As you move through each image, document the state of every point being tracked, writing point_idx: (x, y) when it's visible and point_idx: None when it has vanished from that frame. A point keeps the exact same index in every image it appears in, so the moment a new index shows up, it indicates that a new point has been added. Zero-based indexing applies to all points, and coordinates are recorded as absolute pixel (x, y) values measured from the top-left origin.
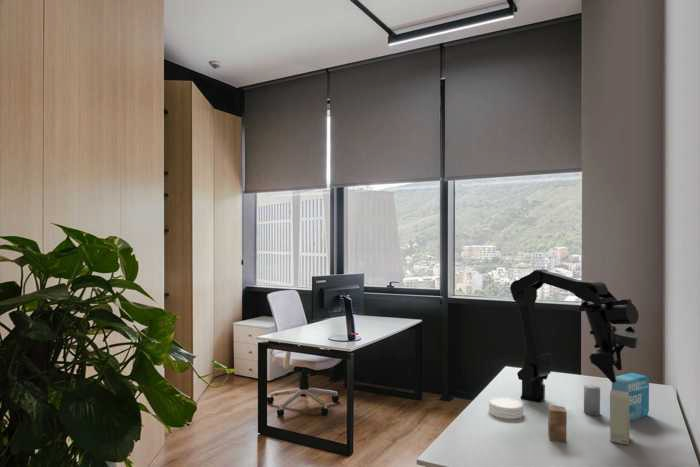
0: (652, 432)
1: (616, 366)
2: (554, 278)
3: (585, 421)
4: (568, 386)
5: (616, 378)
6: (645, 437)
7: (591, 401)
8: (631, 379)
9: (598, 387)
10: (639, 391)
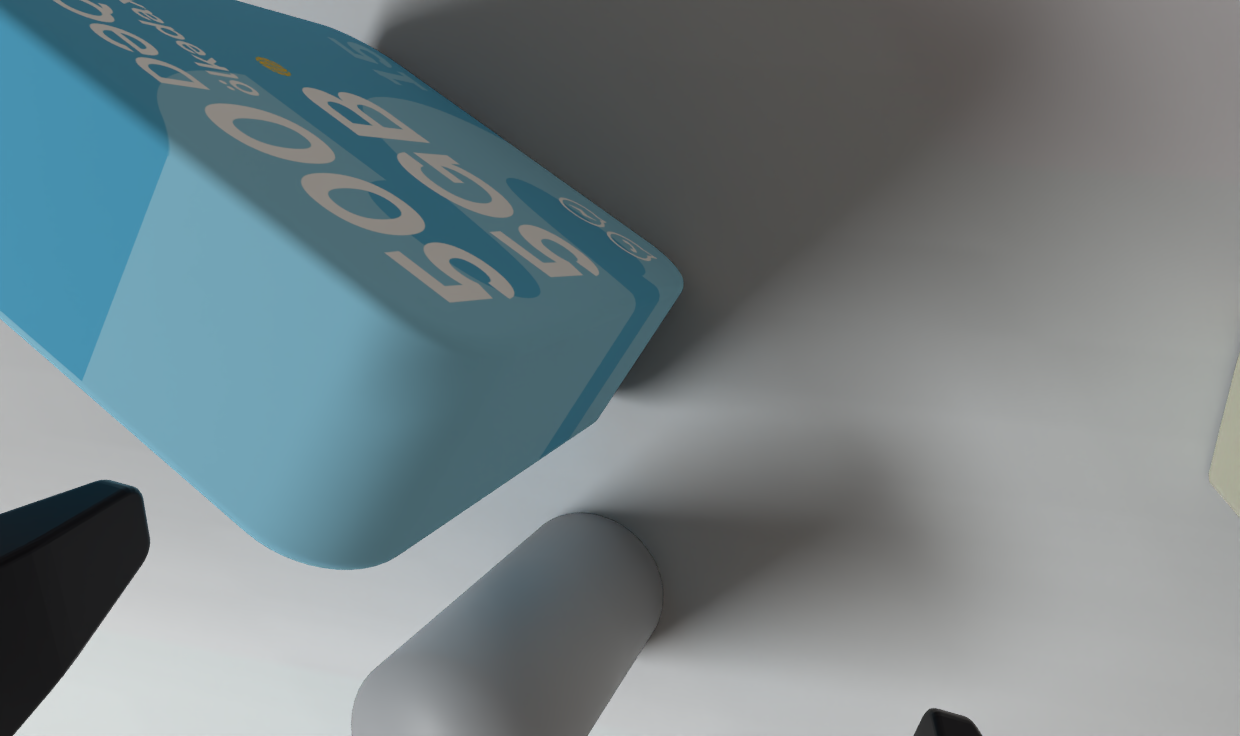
0: (914, 19)
1: (79, 629)
2: None
3: (886, 693)
4: None
5: (323, 519)
6: (1153, 108)
7: (611, 681)
8: (286, 249)
9: (421, 672)
10: (299, 107)
